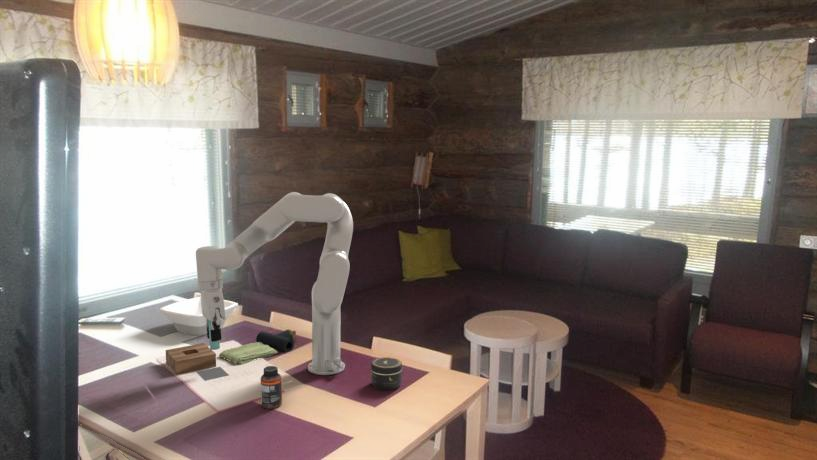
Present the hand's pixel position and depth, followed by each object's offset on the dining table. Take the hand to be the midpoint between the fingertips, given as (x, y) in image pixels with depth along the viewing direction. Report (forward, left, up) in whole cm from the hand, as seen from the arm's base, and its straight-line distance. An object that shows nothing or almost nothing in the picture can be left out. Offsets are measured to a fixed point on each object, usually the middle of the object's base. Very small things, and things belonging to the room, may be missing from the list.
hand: (214, 338), depth 190 cm
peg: (0, 0, -3) cm, 3 cm away
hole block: (+12, +4, -12) cm, 18 cm away
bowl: (+51, -11, -13) cm, 53 cm away
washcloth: (+11, -15, -13) cm, 23 cm away
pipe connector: (+15, -30, -13) cm, 36 cm away
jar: (-39, -42, -13) cm, 59 cm away
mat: (0, +1, -12) cm, 12 cm away
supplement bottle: (-32, -6, -13) cm, 35 cm away
